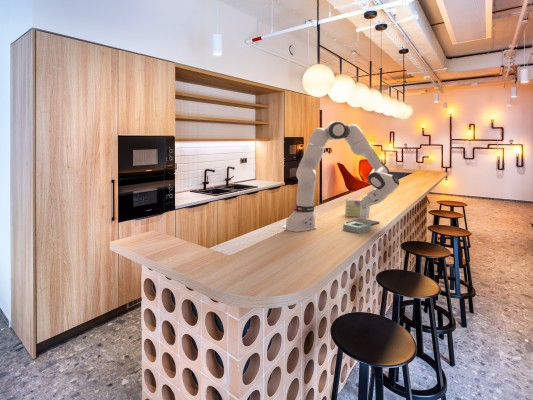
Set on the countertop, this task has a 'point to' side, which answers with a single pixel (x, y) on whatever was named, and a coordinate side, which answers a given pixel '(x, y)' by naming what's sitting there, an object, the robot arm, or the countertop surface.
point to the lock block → (357, 227)
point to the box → (353, 208)
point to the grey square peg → (365, 212)
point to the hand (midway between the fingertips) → (364, 207)
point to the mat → (365, 221)
